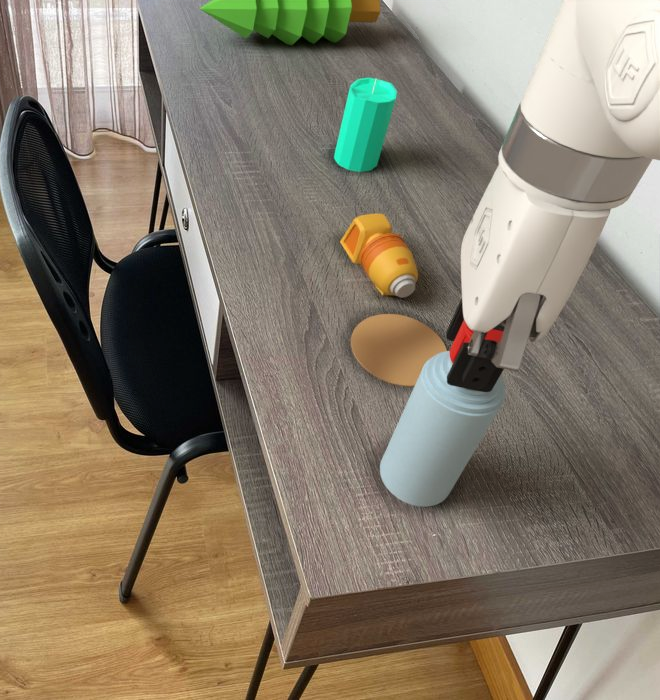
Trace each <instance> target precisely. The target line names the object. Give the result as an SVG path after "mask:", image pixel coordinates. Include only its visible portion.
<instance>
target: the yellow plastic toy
mask: <svg viewBox="0 0 660 700" xmlns="http://www.w3.org/2000/svg"><path fill="white" fill-rule="evenodd" d="M339 244H341V245H342V247H343V249H344V251H345V252H346V254H347V255H348V257H349V259H350V260H351V263H353V264H357V265H360V266H361V268H362V269H363V270H364V273H365V274H366V276H367V277H368V278H369V280H370V281H371V282H372V284H373V286H374V287H375V288H376V289H377V290H378V292H379V293H380V294H381V296H387V297H388V296H394V297H395V296H396V297H398V298H407V297H409V296H411V295H412V294H413V293H414V291H416V283H417V281H418V278H419V271H418V268H417V265H416V261H415V258H414V255H413V253H412V250H410V248H409V246H408V245H407V244H406V242H405V239H404V238H403V237H402V236H401V235H400V234H398V233H395V232H393V227H392V225H391V223H390V221H389V220H388V218H387V217H386V216H385V214H384V213H377V212H376V213H367V214H361V215H359V216H356V217H355V218H354V219H353V220H352V221H351V223H350V225H349V227H348V228H347V230H346V231H345V232H344V235H343V236H342V238H341V239H340V241H339Z"/></svg>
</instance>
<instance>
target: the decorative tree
mask: <svg viewBox="0 0 660 700" xmlns="http://www.w3.org/2000/svg"><path fill="white" fill-rule="evenodd" d="M198 10H200V11H202V12H203V13H205V14H206V15H208V16H209V17H211V18H212V19H214V20H216V21H218V22H219V23H220V24H222V25H224V26H225V27H227V28H228V29H230V30H231V31H233V32H234V33H236V34H238V36H239V35H240V37H243V38H244V39H248V38H249V36H250V35H251V34H252V33H253V32H256V33H257V34H260V35H261V36H263V37H265V38H267V39H269V38H270V37H271V36H272V35H273V37H275V38H277V39H278V40H280V41H281V42H283V43H284V44H286V45H289V46H293V45H294V44H295V43H296V42H297V41H298V40H300V39H301V37H302V38H304V39H305V40H306V41H308V42H309V43H310V44H314V45H316V43H317V42H318V41H319V40H320V39H321V38H322V37H323V38H324V39H326V40H328V41H329V42H331V43H338V42H339V41H340V40H341V39H343V38H344V37H345V36H346V35H347V31H348V26H349V23H377V21H378V19H379V17H380V14H381V4H380V0H211V1H209V2H207V3H206V4H204V5H202V6H201V7H199V8H198Z"/></svg>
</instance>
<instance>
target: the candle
mask: <svg viewBox="0 0 660 700" xmlns="http://www.w3.org/2000/svg"><path fill="white" fill-rule="evenodd" d="M397 92H398V90H397V89H396V88H395V86H394V85H393V83H392V82H389V81H386V80H382V79H379V78H378V77H375V78H373V77H363V78H357V79H356V80H355V81H353V83H352V84H350V86H349V90H348V94H347V99H346V103H345V107H344V111H343V116H342V120H341V125H340V128H339V133H338V137H337V142H336V147H335V150H334V155H333V159H334V160H335V162H336V163H337V165H338V166H340V167H342V168H344V169H345V170H347V171H351V172H352V171H353V172H357V173H363V172H370V171H373V170H374V169H375V168H377V166H378V164H379V161H380V158H381V157H380V156H381V153H382V150H383V146H384V142H385V139H386V135H387V132H388V128H389V125H390V121H391V117H392V113H393V110H394V106H395V104H396V100H397Z"/></svg>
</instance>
